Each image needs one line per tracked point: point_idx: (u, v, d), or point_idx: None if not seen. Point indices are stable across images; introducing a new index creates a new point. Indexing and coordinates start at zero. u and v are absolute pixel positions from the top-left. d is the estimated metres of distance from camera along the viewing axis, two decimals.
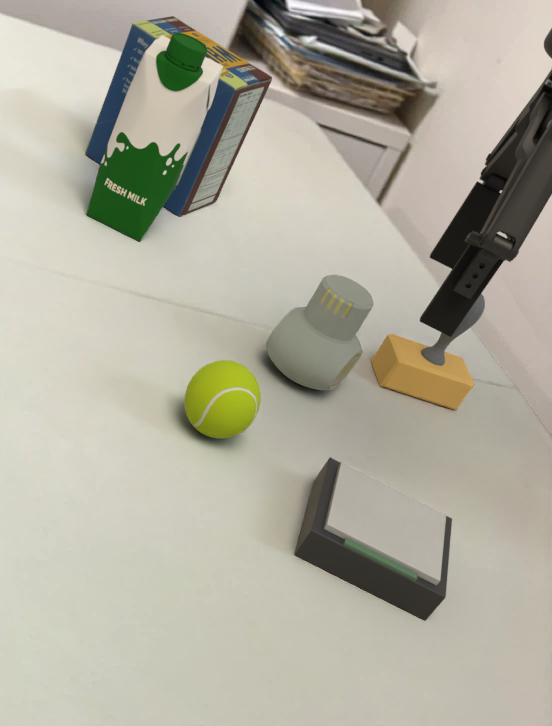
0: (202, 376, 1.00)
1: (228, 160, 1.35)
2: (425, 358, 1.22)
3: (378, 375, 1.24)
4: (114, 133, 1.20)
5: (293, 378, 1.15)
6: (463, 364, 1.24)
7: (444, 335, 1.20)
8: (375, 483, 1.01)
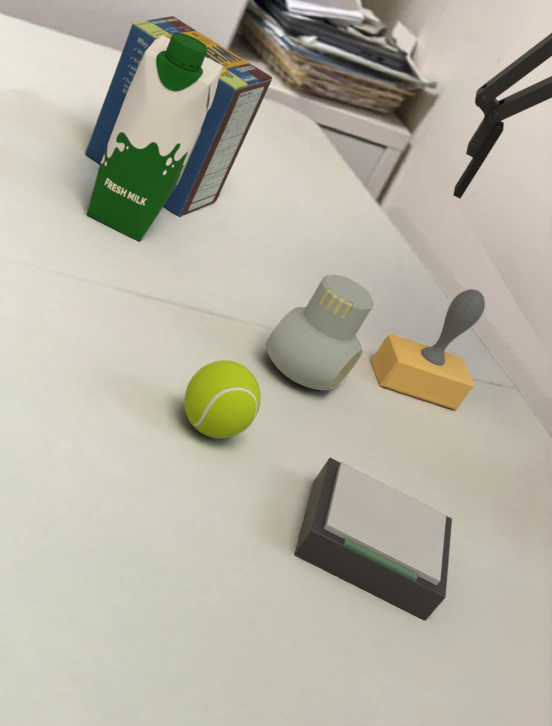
0: (203, 376, 1.00)
1: (228, 160, 1.35)
2: (425, 358, 1.22)
3: (378, 375, 1.24)
4: (114, 133, 1.20)
5: (293, 378, 1.15)
6: (463, 364, 1.24)
7: (444, 335, 1.20)
8: (375, 483, 1.01)
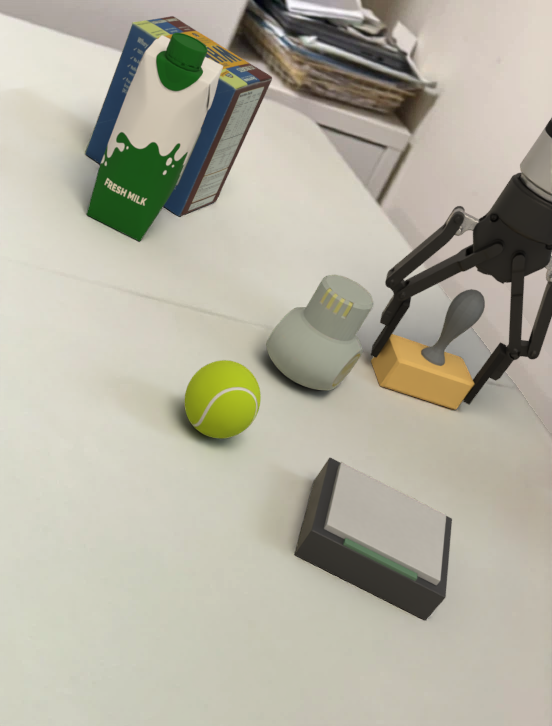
0: (203, 376, 1.00)
1: (228, 160, 1.35)
2: (425, 358, 1.22)
3: (378, 375, 1.24)
4: (114, 133, 1.20)
5: (293, 378, 1.15)
6: (463, 364, 1.24)
7: (444, 335, 1.20)
8: (375, 483, 1.01)
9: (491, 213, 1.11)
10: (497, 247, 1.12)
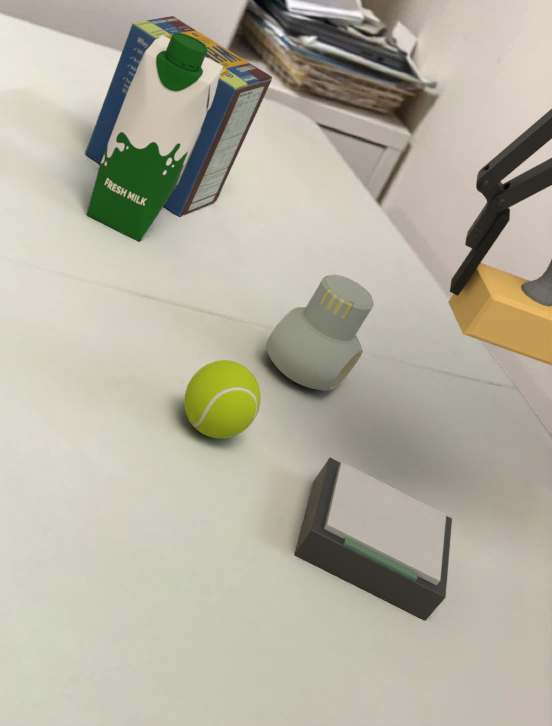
0: (202, 376, 1.00)
1: (228, 160, 1.35)
2: (528, 295, 0.87)
3: (460, 320, 0.89)
4: (114, 133, 1.20)
5: (293, 378, 1.15)
6: None
7: None
8: (375, 483, 1.01)
9: None
10: None
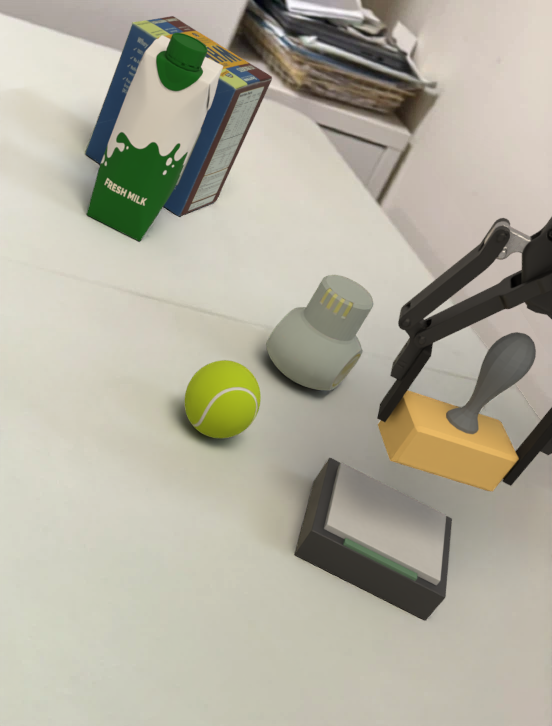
0: (202, 376, 1.00)
1: (228, 160, 1.35)
2: (452, 424, 0.90)
3: (388, 446, 0.91)
4: (114, 133, 1.20)
5: (293, 378, 1.15)
6: (502, 430, 0.92)
7: (478, 394, 0.88)
8: (375, 483, 1.01)
9: (549, 229, 0.78)
10: None
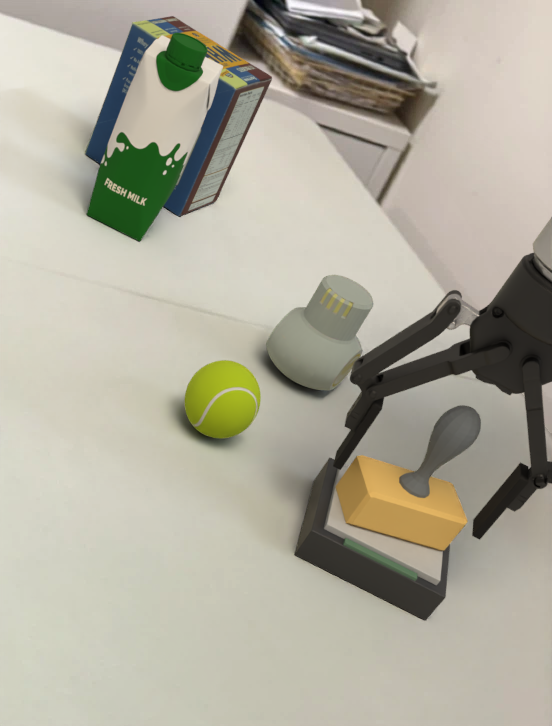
0: (202, 376, 1.00)
1: (228, 160, 1.35)
2: (404, 488, 0.95)
3: (344, 508, 0.96)
4: (114, 133, 1.20)
5: (293, 378, 1.15)
6: (453, 493, 0.97)
7: (428, 461, 0.93)
8: None
9: (494, 306, 0.83)
10: (502, 350, 0.84)
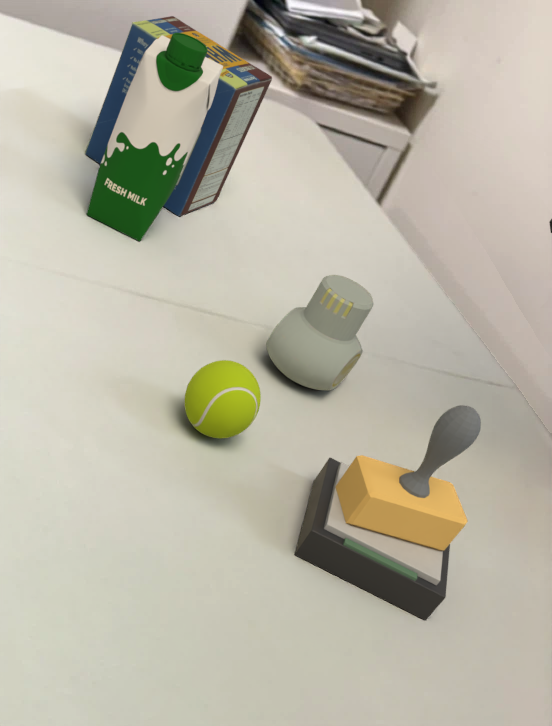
0: (202, 376, 1.00)
1: (228, 160, 1.35)
2: (404, 488, 0.95)
3: (344, 508, 0.96)
4: (114, 133, 1.20)
5: (293, 378, 1.15)
6: (453, 493, 0.97)
7: (428, 461, 0.93)
8: None
9: None
10: None
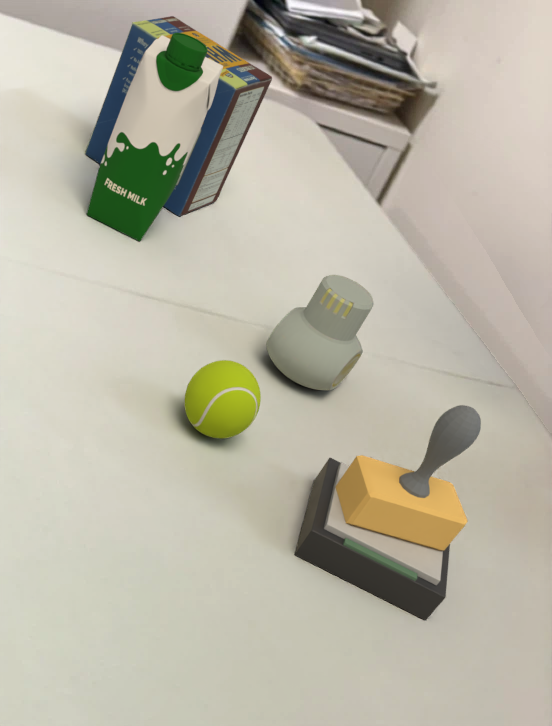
0: (202, 376, 1.00)
1: (228, 160, 1.35)
2: (404, 488, 0.95)
3: (344, 508, 0.96)
4: (114, 133, 1.20)
5: (293, 378, 1.15)
6: (453, 493, 0.97)
7: (428, 461, 0.93)
8: None
9: None
10: None
